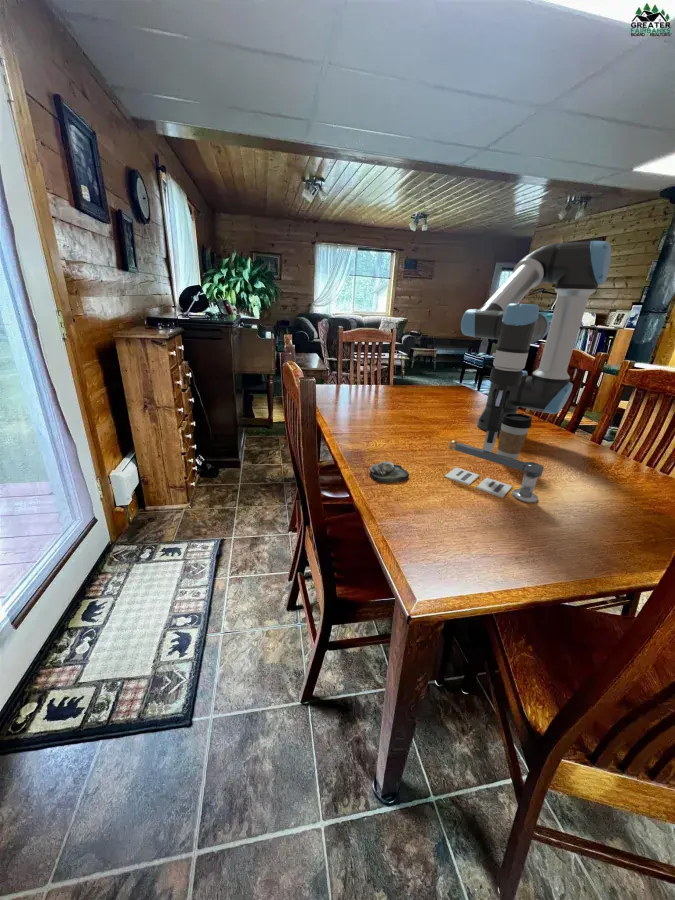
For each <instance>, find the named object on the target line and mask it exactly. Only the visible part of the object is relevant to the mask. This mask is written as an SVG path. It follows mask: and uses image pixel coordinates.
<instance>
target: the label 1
mask: <svg viewBox="0 0 675 900" xmlns="http://www.w3.org/2000/svg"><path fill="white" fill-rule="evenodd" d="M479 477H480V474H477V473H474V472H472V471H469V470H466V469H463V468H460V467H454V468H453V469H452V470H450V471H449V472H447V473H446V474H445V475H444V478H446V479H448V480H451V481H454V482H457V483H460V484H463V485H464V486H470V485H471V484H472V483H474V482H475V481H476V480H477V479H478V478H479Z"/></svg>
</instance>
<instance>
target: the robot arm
mask: <svg viewBox="0 0 675 900" xmlns="http://www.w3.org/2000/svg"><path fill="white" fill-rule="evenodd" d="M611 260H612V246H611V243H609V242H608V241H606V240H587V241H573V242H572V241H571V242H554V243H550V244H549V243H548V244H547V245H544V246H541V247H539V248H537V249H535V250H533V251H532V252H530V253H529V254H527V255H526V256H524V257H523V258H522V259H520V260H519V262H518V263H517V264H516V265H515V266H514V268H513V270H512V274H511V275H510V276H509V277H508V278H507V279H506V280H505V281H504V282H503V283H502V285H501V286H500V287H498V289H497V290H496V291H495V292H494V293H493V294H492V295H491V296H490V297H489V299H487V301H486V302H485V303H484V304H482V306H481V307H480V308H479V309H477V308H473V309H472V308H469V309H467V310H466V311H465V312H464V313H463V316H462V317H461V322H460V330H461V333H462V334H463V336H468V337H473V338H475V339H476V338H479V339H481V338H482V339H489V340H497V344H496V347H495V348H496V349H495V352H493V353H492V355H491V356H492V358H494V359H493V363H492V365H493V367H492V368H491V370H490V374H489V378H488V380H489V382H490V385H489V386H490V387H489V389H488V395H487V399H486V402H485V407H484V408H483V411H482V412H481V413H480V415H479V417H478V419H477V423H476V426H477V427H478V428H479V429H481V430H484V431H485V432H486V434H485V437H484V442H483V447H482V450H485V451H489V452H492V453H494V449H495V447H496V440H497V437H498V435H500V431H501V426H502V423H501V419H502V418H503V415H504V414H509V413H514V414H518V410H519V408H524V409H527V410H531V411H535V412H541V413H547V414H552V415H556V414H558V413H559V412H561V410H563V408H564V406H565V404H566V403H567V402H568V400H569V397H570V395H571V393H572V391H573V386H574V384H573V383H572V382H570V379H571V376H570V375H569V373H568V369H569V368H568V367H569V364H570V362H571V357H572V354H573V350H574V347H575V344H576V341H577V338H578V336H579V335H578V334H579V331H580V328H581V327H580V326H581V325H582V321H583V317H584V314H585V311H586V307H587V304H588V301H589V297H590V296H591V295H593V294H594V293H596V291H597V290H598V287H599V285H600V286H601V285H603V284H605V283H606V281H607V278H608V275H609V272H610V266H611ZM540 284H555V286H554V291H555V292H556V294H557V298H556V302H555V305H554V309H553V313H552V317H551V320H549V318H548V317H547V316H546V315H545V314H542V313H540V312H539V311H540V306H539V305H538V304H533V303H532V304H531V303H520V302H521V301H522V299H523V298H524V297H525V296H526V295H527V294H528V293H529V292H530V290H531V289H534V288H536V287H537V286H539V285H540ZM545 337H546V340H545V343H544V347H543V351H542V355H541V359H540V363H539V367H538V368H537V369H536V370H534V371H533V372H532V375H531V376H530V375H528V371H527V370H523V369H525V367H526V363H527V359H528V355H529V351H530V346H531V344H533V343H536V342H538V341H541V340H542V339H544V338H545Z"/></svg>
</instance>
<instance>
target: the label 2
mask: <svg viewBox="0 0 675 900" xmlns="http://www.w3.org/2000/svg"><path fill="white" fill-rule="evenodd" d="M475 489H476V490H479V491H482V492H484V493H488V494H490V495H493V496H495V497H499V498H501V499H503V498H505V496H506V495H507V494H508V493H509V491H510V490H511V489H513V485H510V484H507V483H504V482H501V481H498V480H495V479H492V478H489V477H488V476H487V477H485V478H484V479H483V480H482V481H481V482H479V484H478V485H476V487H475Z"/></svg>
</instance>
